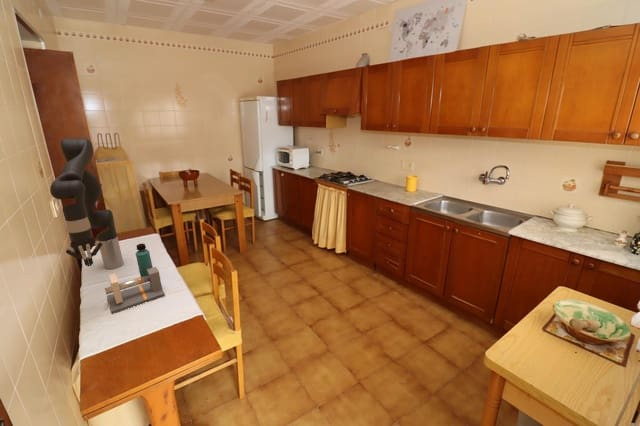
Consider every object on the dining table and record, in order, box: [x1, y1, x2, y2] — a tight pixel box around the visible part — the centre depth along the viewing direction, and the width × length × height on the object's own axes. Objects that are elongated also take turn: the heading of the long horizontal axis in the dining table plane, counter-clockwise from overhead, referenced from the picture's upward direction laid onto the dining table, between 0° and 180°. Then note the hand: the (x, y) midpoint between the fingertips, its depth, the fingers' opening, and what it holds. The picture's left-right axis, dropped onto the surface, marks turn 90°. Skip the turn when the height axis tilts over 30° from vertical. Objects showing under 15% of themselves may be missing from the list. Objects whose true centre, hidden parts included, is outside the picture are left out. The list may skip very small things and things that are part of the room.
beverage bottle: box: [135, 243, 154, 277], centre depth 159 cm, size 6×7×20 cm
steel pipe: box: [104, 275, 150, 296], centre depth 143 cm, size 3×19×3 cm, turn 130°
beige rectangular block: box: [108, 273, 123, 303], centre depth 140 cm, size 9×2×11 cm, turn 39°
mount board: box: [106, 266, 166, 315], centre depth 145 cm, size 15×22×12 cm
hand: (89, 265), depth 131 cm, fingers closed
